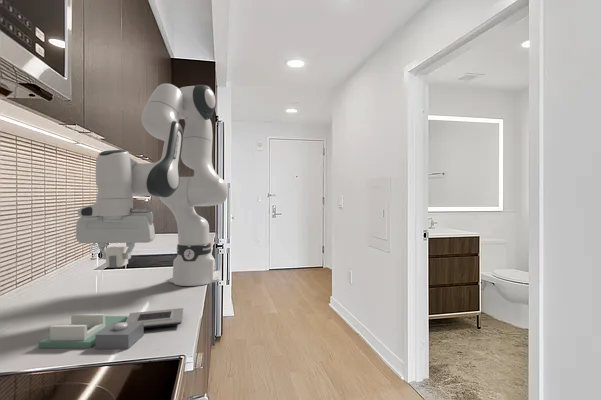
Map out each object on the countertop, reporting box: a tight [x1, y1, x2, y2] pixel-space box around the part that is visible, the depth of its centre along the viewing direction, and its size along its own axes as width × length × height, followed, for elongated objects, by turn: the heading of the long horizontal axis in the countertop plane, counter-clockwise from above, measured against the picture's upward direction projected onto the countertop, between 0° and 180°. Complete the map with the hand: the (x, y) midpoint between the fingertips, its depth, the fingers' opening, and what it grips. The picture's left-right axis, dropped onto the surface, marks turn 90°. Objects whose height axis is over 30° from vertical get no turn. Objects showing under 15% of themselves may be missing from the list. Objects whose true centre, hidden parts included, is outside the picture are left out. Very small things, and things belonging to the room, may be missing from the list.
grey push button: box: [95, 322, 145, 350], centre depth 78 cm, size 7×7×4 cm
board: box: [37, 313, 128, 349], centre depth 83 cm, size 16×11×4 cm
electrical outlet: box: [125, 307, 184, 329], centre depth 89 cm, size 13×10×2 cm
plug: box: [105, 245, 129, 268], centre depth 97 cm, size 5×4×5 cm
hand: (117, 258), depth 97 cm, fingers closed on plug, 4 cm apart
